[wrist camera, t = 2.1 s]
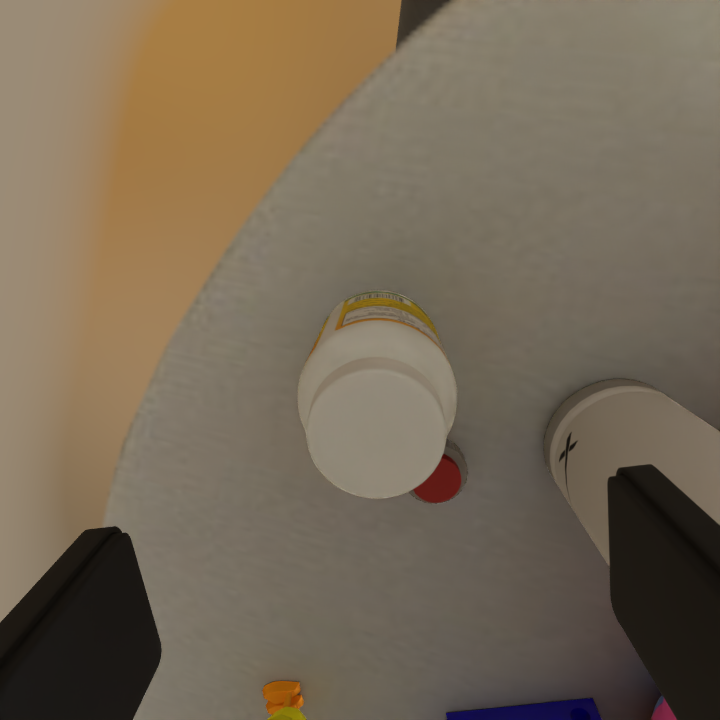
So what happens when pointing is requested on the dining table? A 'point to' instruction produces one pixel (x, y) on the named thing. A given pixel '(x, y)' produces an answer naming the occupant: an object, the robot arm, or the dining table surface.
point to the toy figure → (283, 700)
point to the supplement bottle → (377, 396)
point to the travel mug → (628, 449)
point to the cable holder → (535, 712)
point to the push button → (444, 477)
